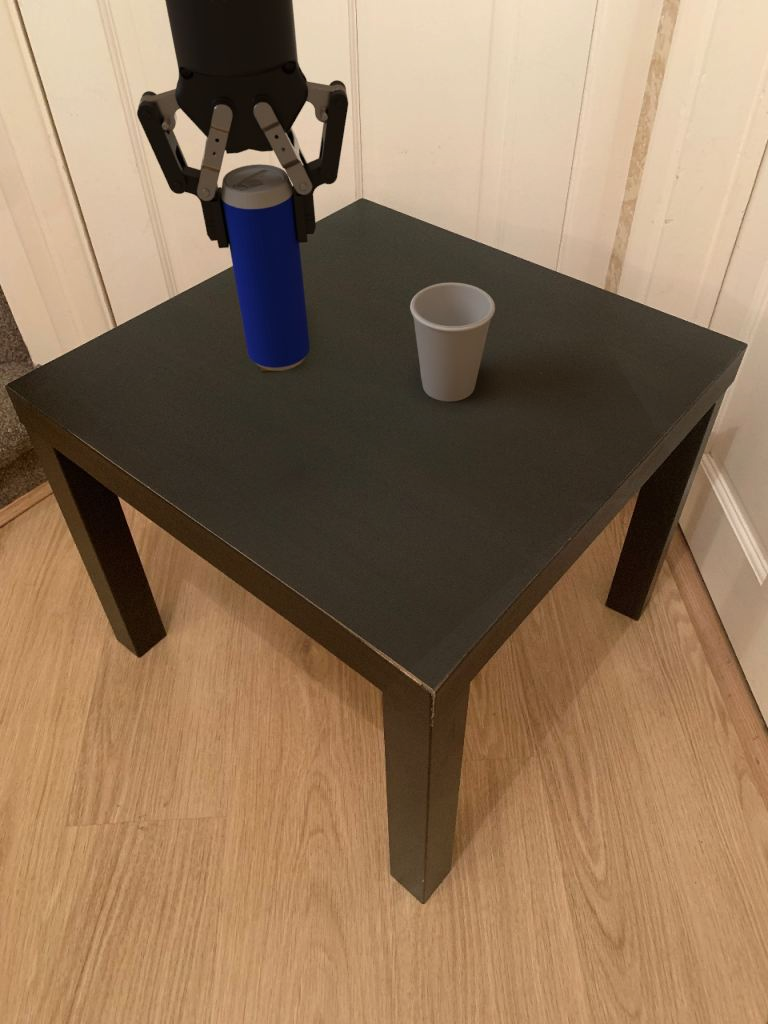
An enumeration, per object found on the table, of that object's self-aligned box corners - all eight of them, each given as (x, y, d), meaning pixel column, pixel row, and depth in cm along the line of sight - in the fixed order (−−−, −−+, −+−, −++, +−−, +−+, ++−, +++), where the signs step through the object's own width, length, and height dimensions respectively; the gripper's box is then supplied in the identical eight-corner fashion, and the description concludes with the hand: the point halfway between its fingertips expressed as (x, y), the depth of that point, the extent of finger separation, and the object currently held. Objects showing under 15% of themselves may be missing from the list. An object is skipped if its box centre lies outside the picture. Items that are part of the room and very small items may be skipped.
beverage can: (284, 330, 69) (261, 155, 58) (323, 355, 66) (307, 177, 55) (236, 355, 67) (203, 178, 56) (274, 382, 64) (248, 202, 53)
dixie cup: (417, 414, 82) (418, 332, 75) (404, 365, 88) (403, 285, 81) (496, 405, 83) (504, 323, 76) (477, 357, 89) (484, 277, 81)
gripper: (343, -51, 49) (356, 210, 62) (110, -40, 49) (170, 222, 61) (351, -18, 44) (363, 259, 57) (91, -5, 44) (161, 273, 56)
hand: (263, 239), depth 59 cm, fingers closed on beverage can, 5 cm apart
